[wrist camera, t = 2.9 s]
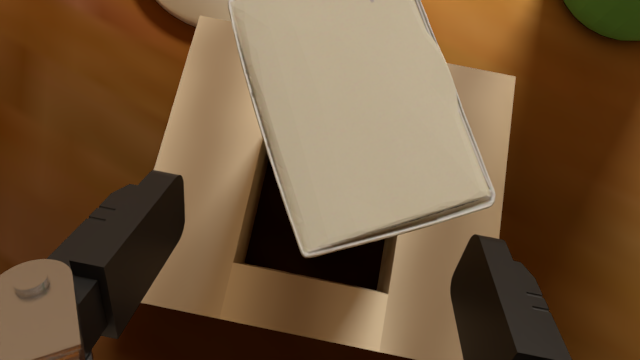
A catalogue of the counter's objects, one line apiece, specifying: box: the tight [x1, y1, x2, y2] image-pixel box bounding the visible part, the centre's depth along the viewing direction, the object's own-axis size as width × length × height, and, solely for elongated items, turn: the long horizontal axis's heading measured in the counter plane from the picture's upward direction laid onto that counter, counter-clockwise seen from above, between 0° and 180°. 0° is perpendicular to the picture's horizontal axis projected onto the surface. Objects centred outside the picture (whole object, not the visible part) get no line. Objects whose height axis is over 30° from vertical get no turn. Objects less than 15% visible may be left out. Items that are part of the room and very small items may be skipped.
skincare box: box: [228, 0, 496, 258], centre depth 14 cm, size 6×4×12 cm
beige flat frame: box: [141, 16, 516, 360], centre depth 19 cm, size 15×13×3 cm
